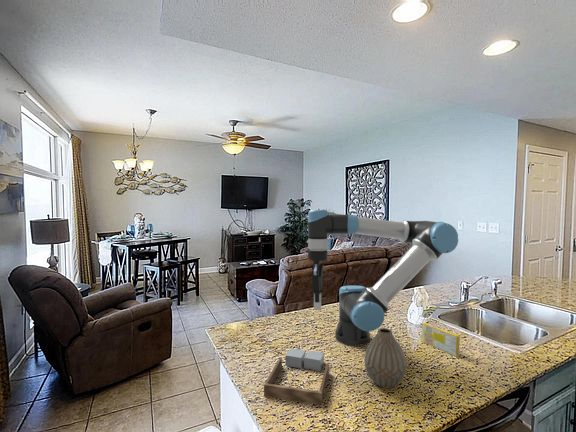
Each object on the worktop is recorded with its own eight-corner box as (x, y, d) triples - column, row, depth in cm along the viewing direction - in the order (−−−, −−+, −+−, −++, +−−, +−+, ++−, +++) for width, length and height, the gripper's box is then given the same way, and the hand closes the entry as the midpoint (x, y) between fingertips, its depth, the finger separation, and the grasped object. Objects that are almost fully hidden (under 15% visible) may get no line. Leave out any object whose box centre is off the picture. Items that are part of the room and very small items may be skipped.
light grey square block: (324, 363, 115) (324, 352, 115) (320, 371, 110) (320, 360, 110) (308, 360, 117) (308, 350, 117) (304, 368, 112) (304, 357, 112)
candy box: (459, 356, 120) (460, 335, 120) (456, 357, 119) (456, 336, 119) (424, 340, 134) (424, 321, 134) (420, 341, 133) (421, 322, 133)
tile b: (305, 360, 117) (305, 350, 117) (301, 368, 112) (301, 357, 111) (290, 358, 119) (290, 348, 119) (285, 366, 113) (285, 355, 113)
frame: (328, 373, 108) (328, 363, 108) (321, 405, 91) (321, 393, 91) (279, 366, 113) (279, 357, 112) (264, 396, 95) (263, 384, 95)
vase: (400, 399, 94) (401, 342, 93) (358, 386, 100) (359, 333, 100) (409, 378, 105) (410, 327, 104) (371, 368, 112) (371, 320, 111)
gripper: (311, 246, 127) (311, 303, 128) (304, 251, 114) (304, 314, 115) (329, 247, 125) (329, 305, 126) (325, 252, 113) (324, 316, 113)
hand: (317, 309), depth 121 cm, fingers closed
